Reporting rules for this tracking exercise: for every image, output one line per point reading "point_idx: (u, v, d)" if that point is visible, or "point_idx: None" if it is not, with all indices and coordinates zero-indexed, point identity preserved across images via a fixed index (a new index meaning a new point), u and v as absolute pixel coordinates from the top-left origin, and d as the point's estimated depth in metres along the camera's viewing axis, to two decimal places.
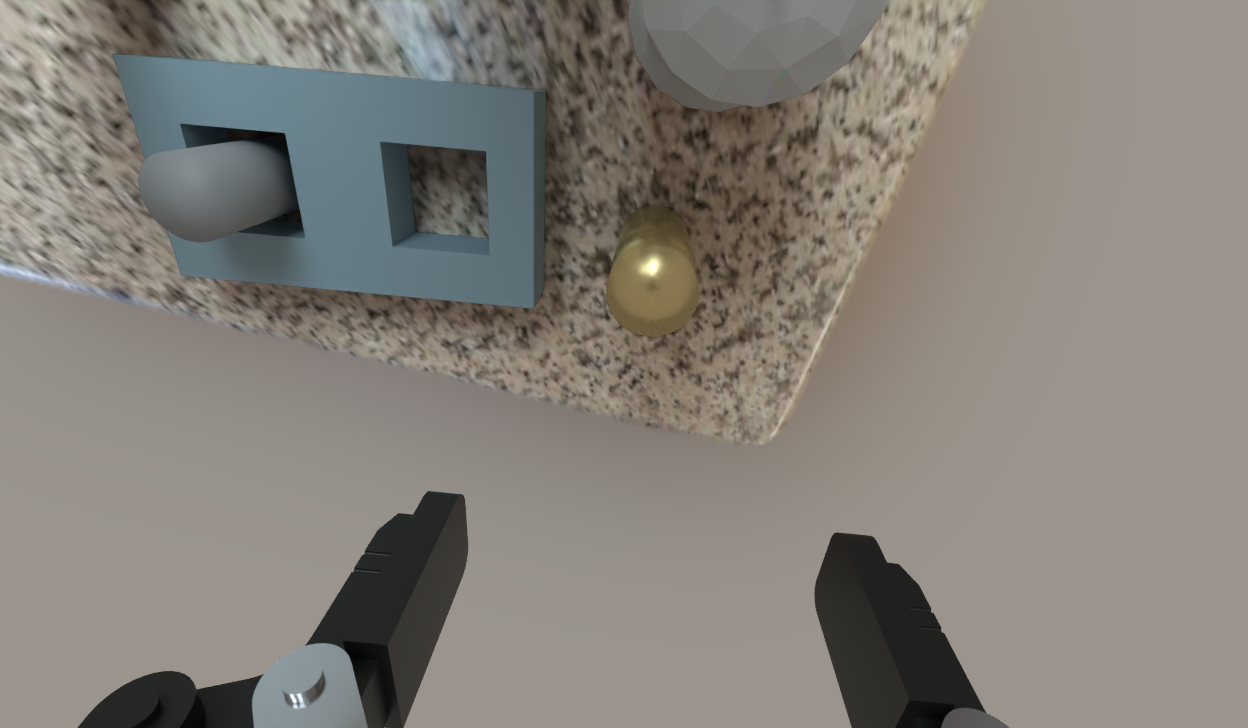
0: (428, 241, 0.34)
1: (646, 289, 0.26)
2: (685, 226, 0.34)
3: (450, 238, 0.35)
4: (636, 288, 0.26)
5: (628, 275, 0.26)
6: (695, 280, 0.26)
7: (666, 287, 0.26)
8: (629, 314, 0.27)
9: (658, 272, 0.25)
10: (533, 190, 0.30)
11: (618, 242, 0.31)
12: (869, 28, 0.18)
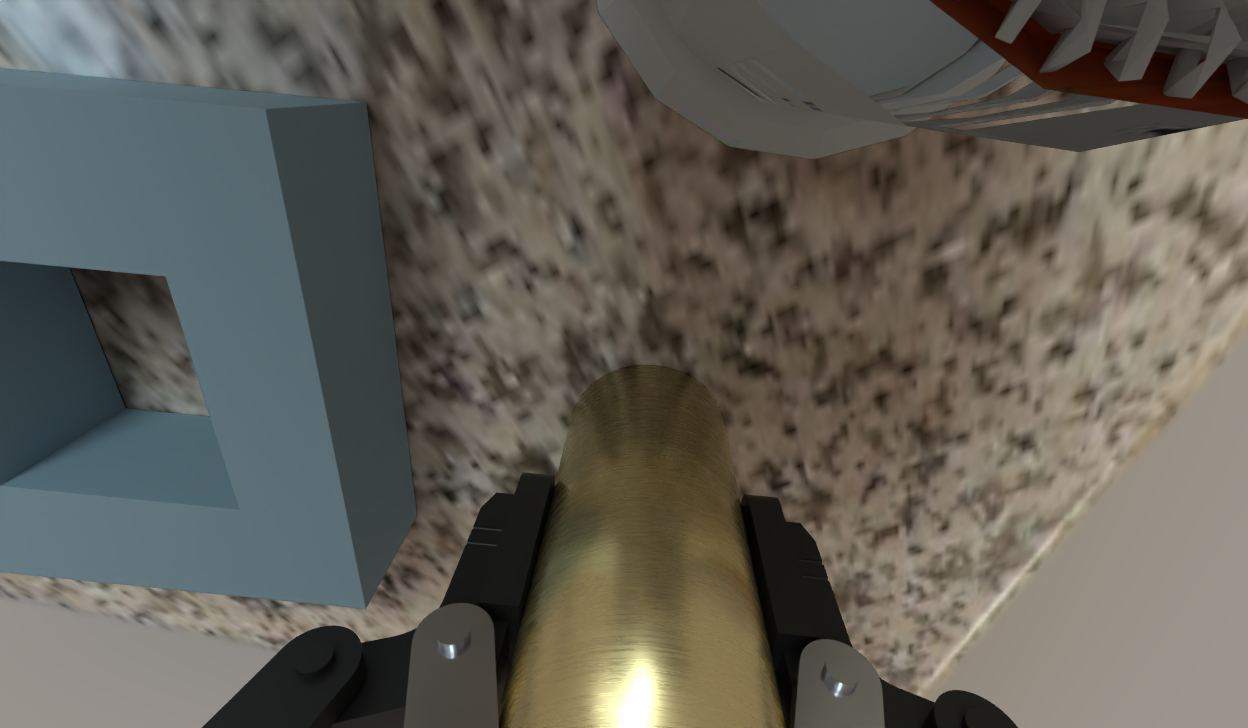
0: (123, 449, 0.15)
1: None
2: (720, 416, 0.14)
3: (192, 429, 0.16)
4: None
5: None
6: None
7: None
8: None
9: None
10: (319, 373, 0.11)
11: (551, 508, 0.11)
12: None
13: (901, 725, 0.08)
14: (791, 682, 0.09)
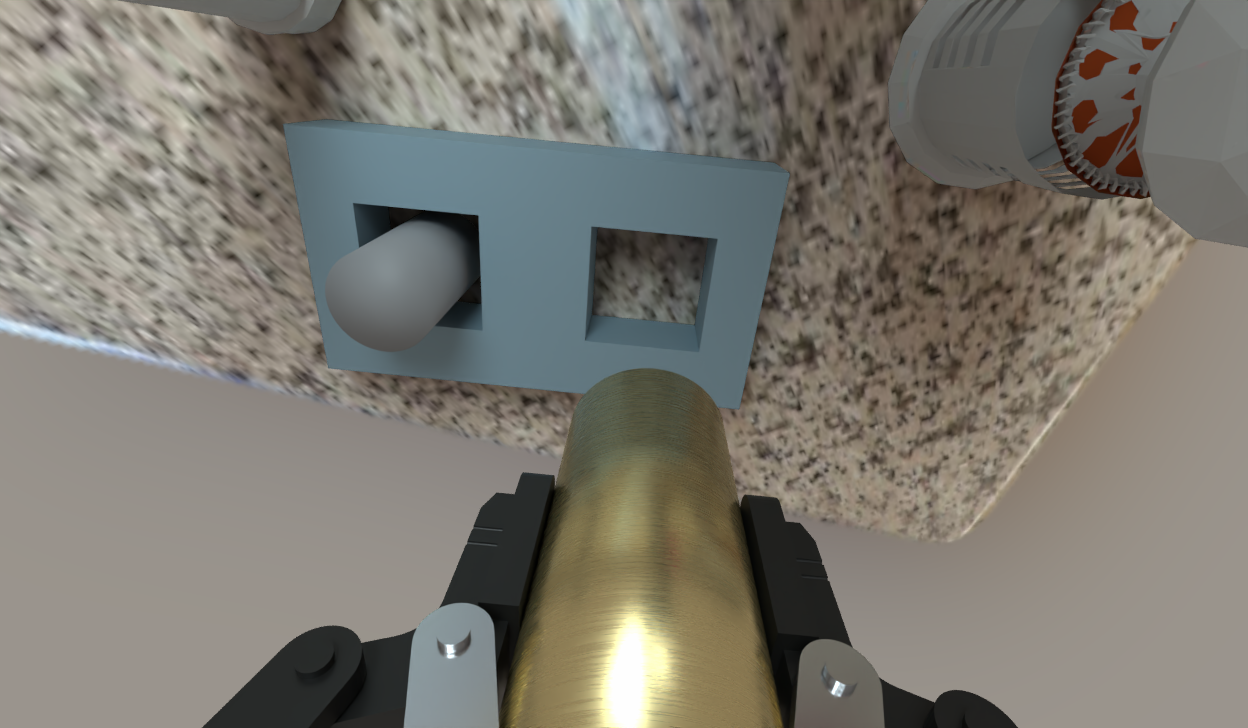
0: (616, 330, 0.29)
1: None
2: (719, 419, 0.15)
3: (635, 323, 0.30)
4: None
5: None
6: None
7: None
8: None
9: None
10: (765, 282, 0.26)
11: (551, 512, 0.12)
12: None
13: (901, 725, 0.08)
14: (791, 682, 0.09)
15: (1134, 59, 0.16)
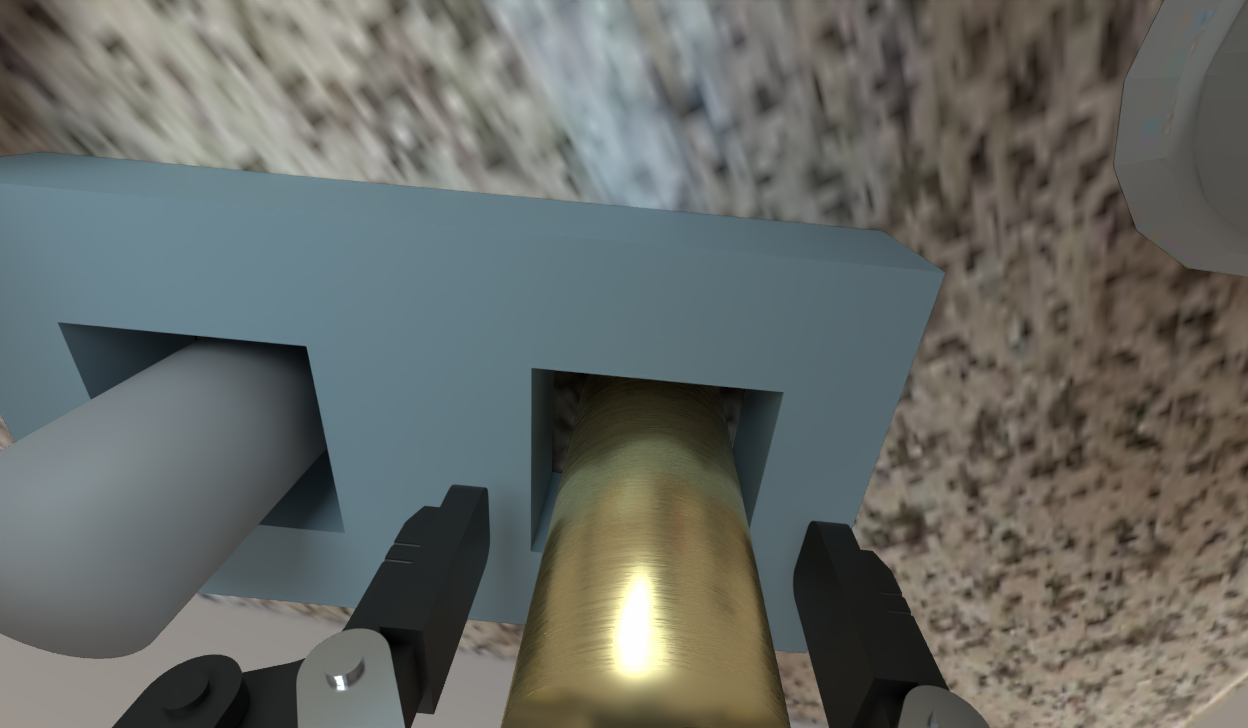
0: None
1: None
2: (717, 392, 0.16)
3: None
4: None
5: (564, 723, 0.08)
6: None
7: None
8: None
9: (665, 723, 0.08)
10: (871, 465, 0.13)
11: (565, 467, 0.13)
12: None
13: None
14: None
15: None
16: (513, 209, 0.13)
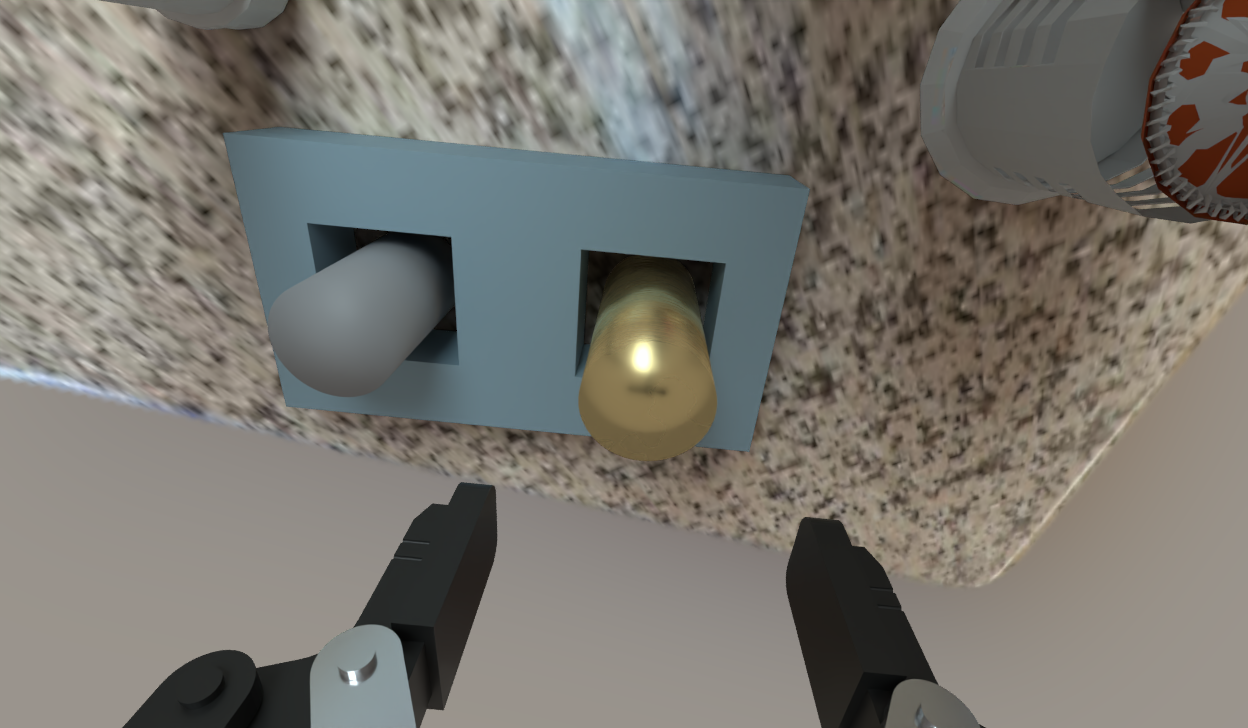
0: None
1: (637, 397, 0.17)
2: (692, 280, 0.25)
3: None
4: (624, 395, 0.17)
5: (610, 378, 0.17)
6: (712, 386, 0.17)
7: (668, 394, 0.17)
8: (613, 431, 0.18)
9: (656, 375, 0.17)
10: (780, 312, 0.23)
11: (600, 309, 0.22)
12: None
13: None
14: (880, 725, 0.08)
15: None
16: (569, 159, 0.22)
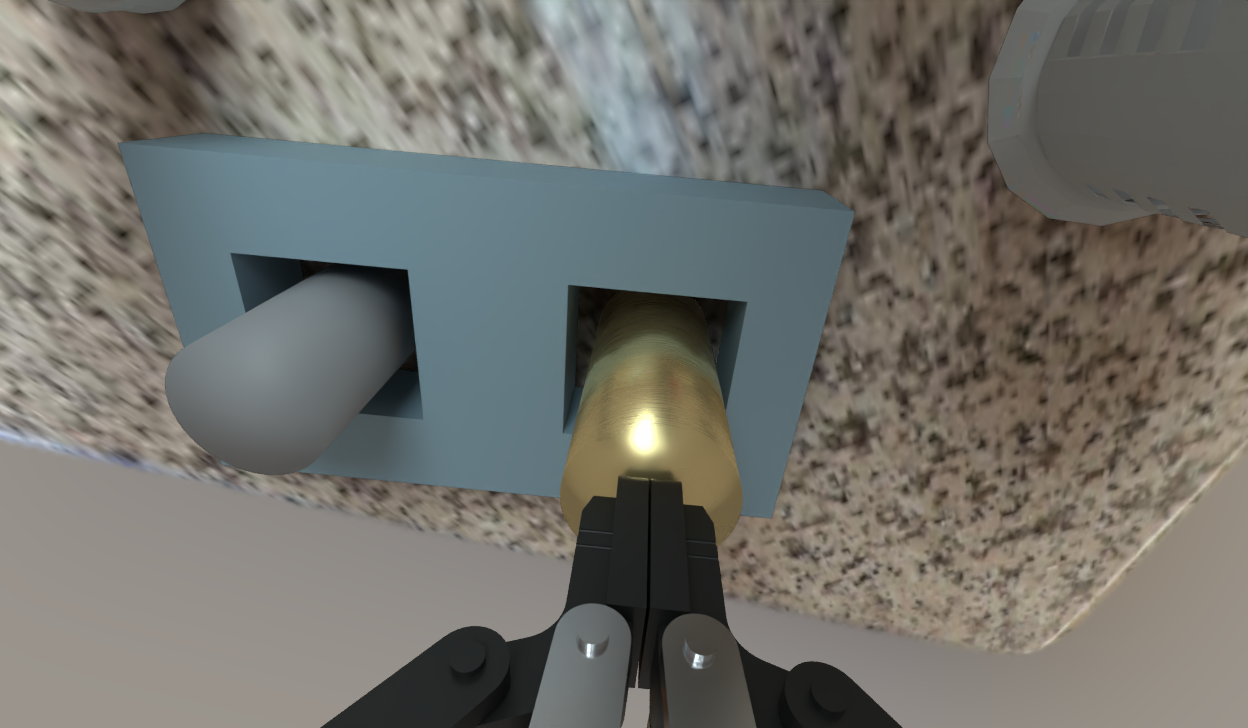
0: None
1: None
2: (703, 316, 0.21)
3: None
4: None
5: (601, 469, 0.13)
6: (736, 480, 0.13)
7: None
8: None
9: (663, 466, 0.13)
10: (812, 359, 0.18)
11: (592, 358, 0.18)
12: None
13: (758, 695, 0.08)
14: (658, 655, 0.09)
15: None
16: (554, 172, 0.18)
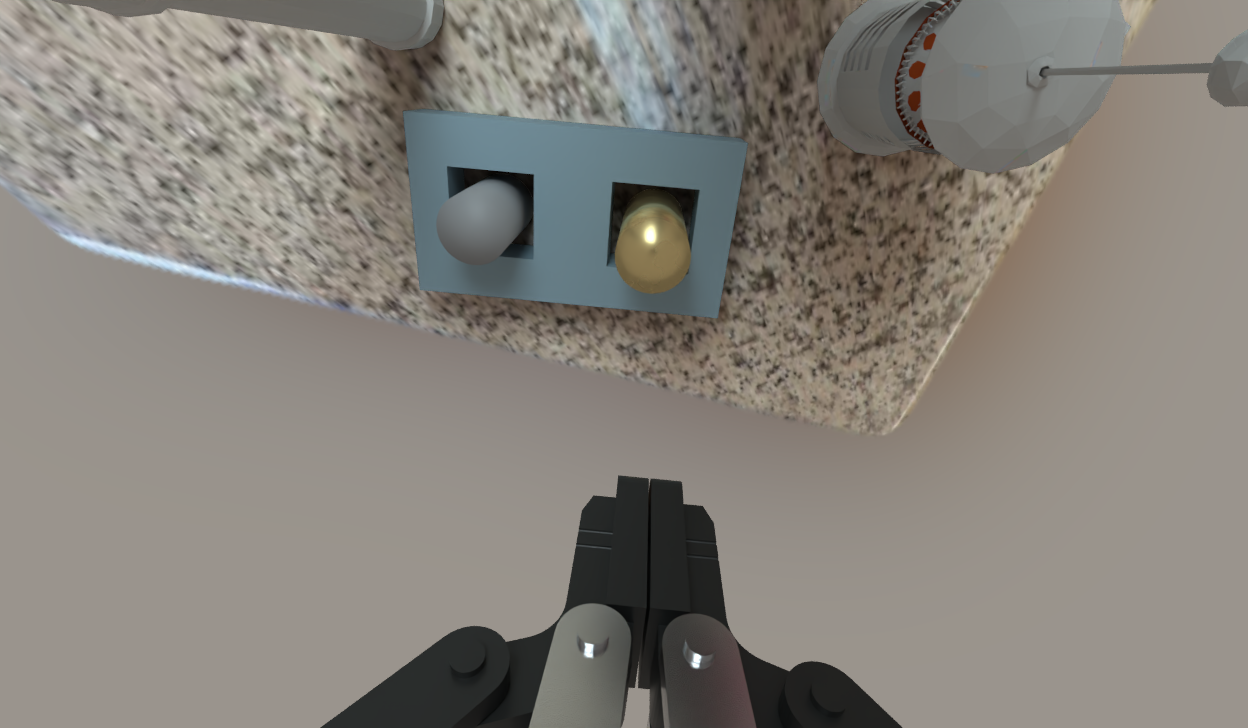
0: None
1: (647, 252, 0.32)
2: (680, 207, 0.39)
3: None
4: (639, 252, 0.32)
5: (632, 241, 0.31)
6: (687, 245, 0.31)
7: (664, 250, 0.31)
8: (633, 274, 0.32)
9: (657, 239, 0.31)
10: (733, 221, 0.37)
11: (623, 218, 0.36)
12: (1086, 119, 0.24)
13: (758, 695, 0.08)
14: (659, 655, 0.09)
15: None
16: (605, 127, 0.36)
